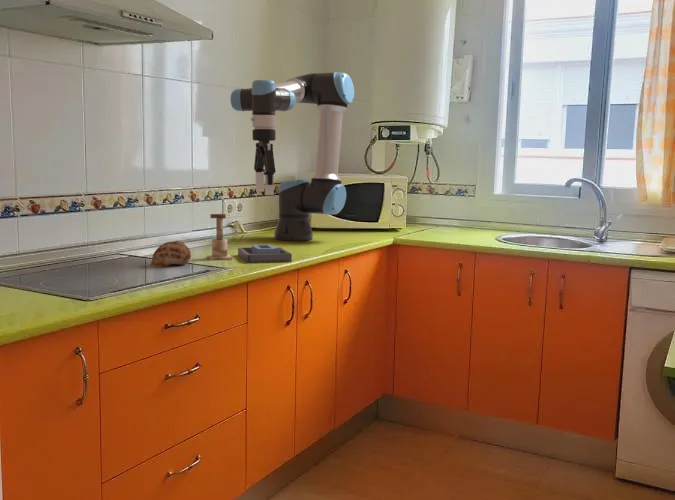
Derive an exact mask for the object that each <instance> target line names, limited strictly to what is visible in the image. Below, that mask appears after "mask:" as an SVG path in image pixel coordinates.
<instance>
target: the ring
mask: <svg viewBox="0 0 675 500" xmlns="http://www.w3.org/2000/svg"><path fill="white" fill-rule="evenodd" d="M251 247H252V254H280V249H281V248H282V247H281V246H273V245H272V244H252V245H251ZM280 247H281V248H280Z"/></svg>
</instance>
